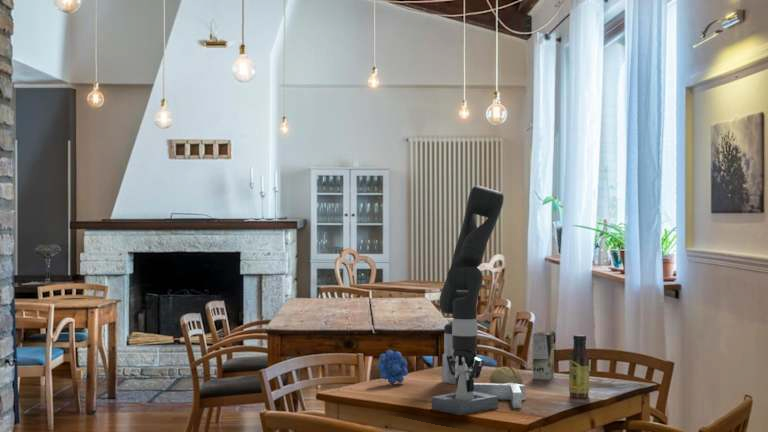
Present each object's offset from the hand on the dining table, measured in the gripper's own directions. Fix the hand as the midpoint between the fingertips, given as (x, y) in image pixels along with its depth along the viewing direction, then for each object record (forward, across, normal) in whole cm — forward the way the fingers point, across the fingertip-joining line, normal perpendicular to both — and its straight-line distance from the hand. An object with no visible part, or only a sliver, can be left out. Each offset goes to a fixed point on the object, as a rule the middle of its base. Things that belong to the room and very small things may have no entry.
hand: (464, 390), depth 249 cm
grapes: (+5, +43, -9) cm, 44 cm away
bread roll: (+6, +11, -31) cm, 33 cm away
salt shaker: (+5, 0, 0) cm, 5 cm away
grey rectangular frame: (+5, 0, 0) cm, 5 cm away
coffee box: (+5, +19, -60) cm, 63 cm away
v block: (+5, 0, -18) cm, 19 cm away
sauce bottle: (+5, -11, -41) cm, 43 cm away
